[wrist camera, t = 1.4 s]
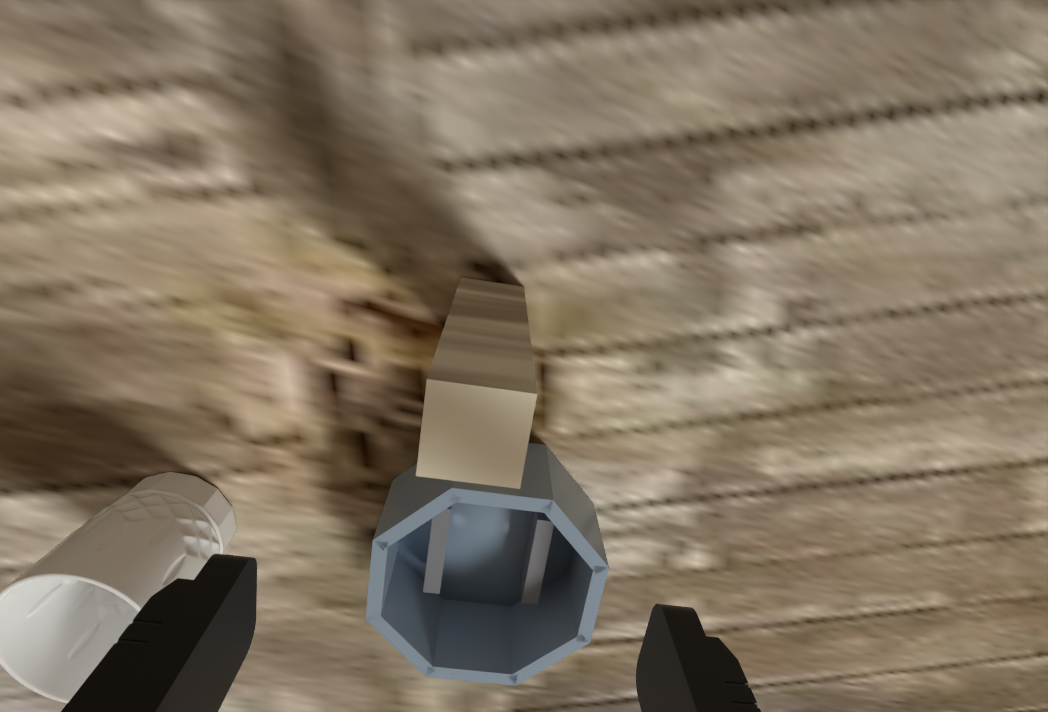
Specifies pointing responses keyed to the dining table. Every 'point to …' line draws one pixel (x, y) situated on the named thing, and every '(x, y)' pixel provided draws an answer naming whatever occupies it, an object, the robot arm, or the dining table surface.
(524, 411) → the tan square peg
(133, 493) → the white cup
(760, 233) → the dining table surface
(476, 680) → the blue octagonal holder
